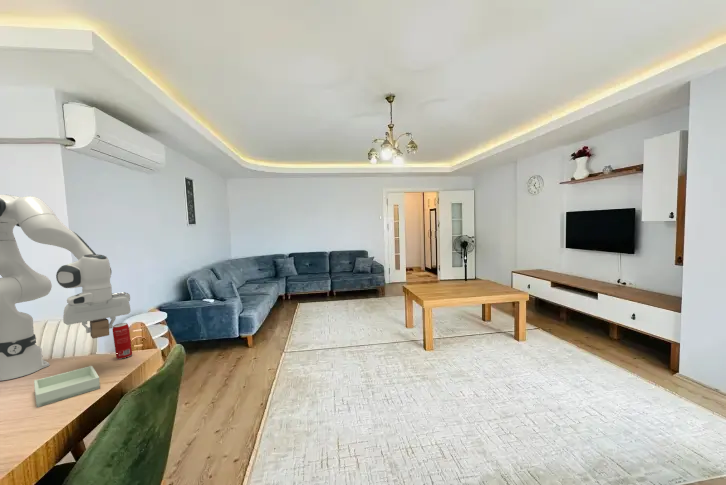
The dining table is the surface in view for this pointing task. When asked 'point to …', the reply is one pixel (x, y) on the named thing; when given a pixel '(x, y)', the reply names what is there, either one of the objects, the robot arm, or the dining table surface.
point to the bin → (65, 385)
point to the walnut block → (99, 328)
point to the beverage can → (122, 340)
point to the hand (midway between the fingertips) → (99, 330)
